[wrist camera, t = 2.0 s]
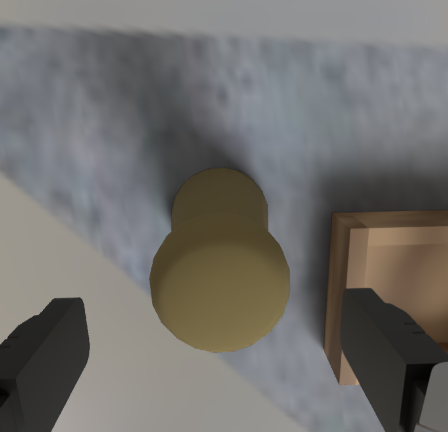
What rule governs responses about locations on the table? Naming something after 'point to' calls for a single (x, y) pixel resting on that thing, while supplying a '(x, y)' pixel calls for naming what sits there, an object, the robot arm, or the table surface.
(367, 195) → the table surface
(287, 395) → the table surface
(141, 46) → the table surface
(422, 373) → the robot arm
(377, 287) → the wooden tray
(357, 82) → the table surface
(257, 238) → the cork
